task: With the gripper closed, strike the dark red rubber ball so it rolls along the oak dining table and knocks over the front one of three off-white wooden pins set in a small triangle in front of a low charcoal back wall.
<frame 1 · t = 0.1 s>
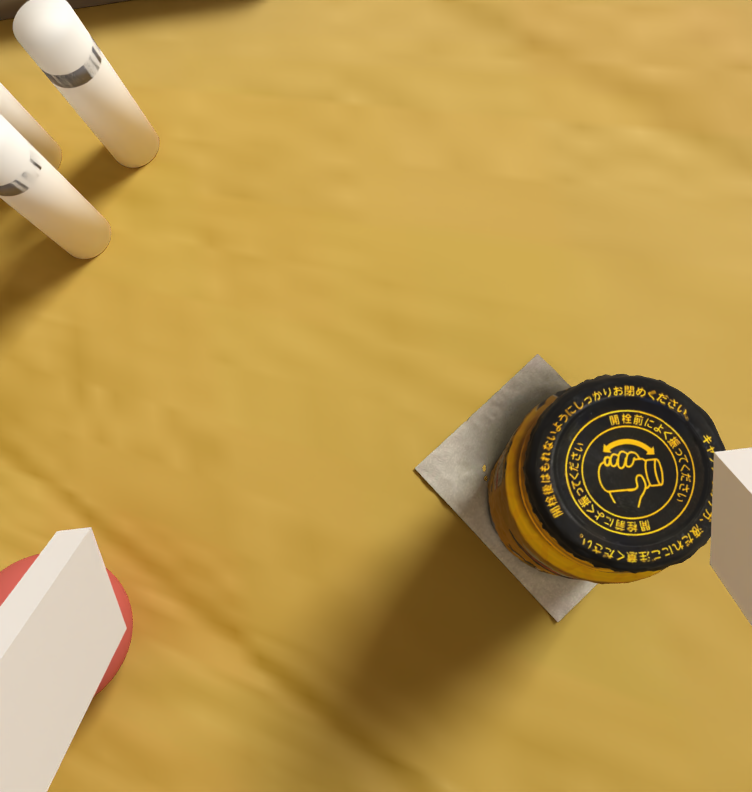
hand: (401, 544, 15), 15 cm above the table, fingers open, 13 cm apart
condiment: (545, 484, 31), on the table
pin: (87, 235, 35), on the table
ball: (50, 631, 28), on the table
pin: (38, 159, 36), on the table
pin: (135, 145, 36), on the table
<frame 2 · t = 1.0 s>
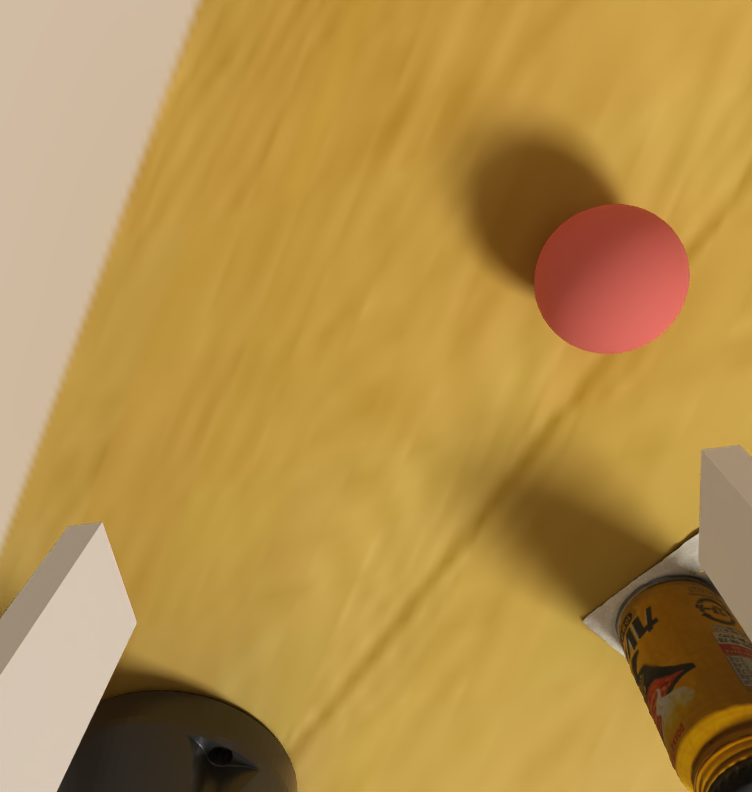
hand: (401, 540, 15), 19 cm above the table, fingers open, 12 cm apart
condiment: (682, 608, 40), on the table
ball: (609, 280, 29), on the table
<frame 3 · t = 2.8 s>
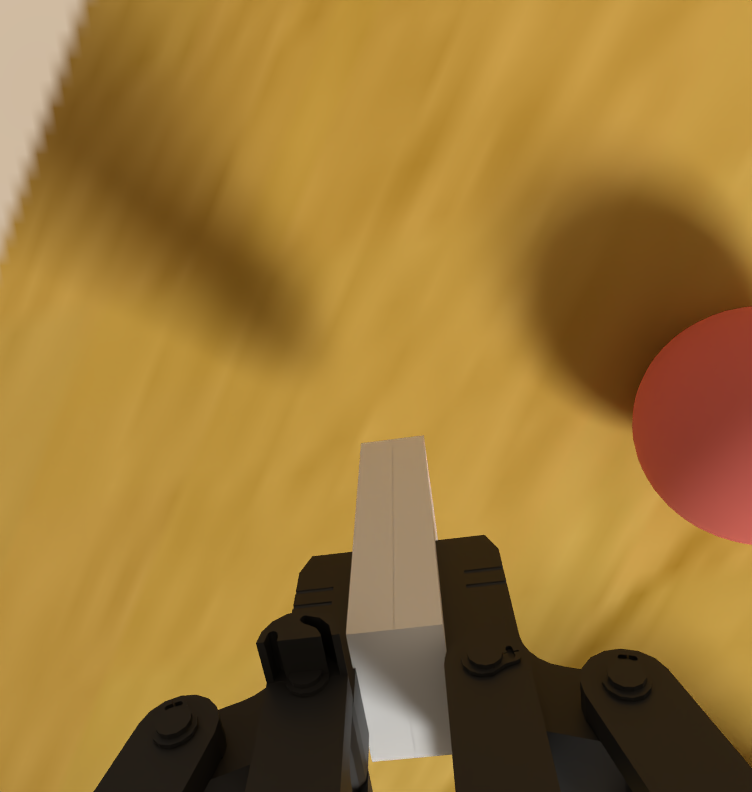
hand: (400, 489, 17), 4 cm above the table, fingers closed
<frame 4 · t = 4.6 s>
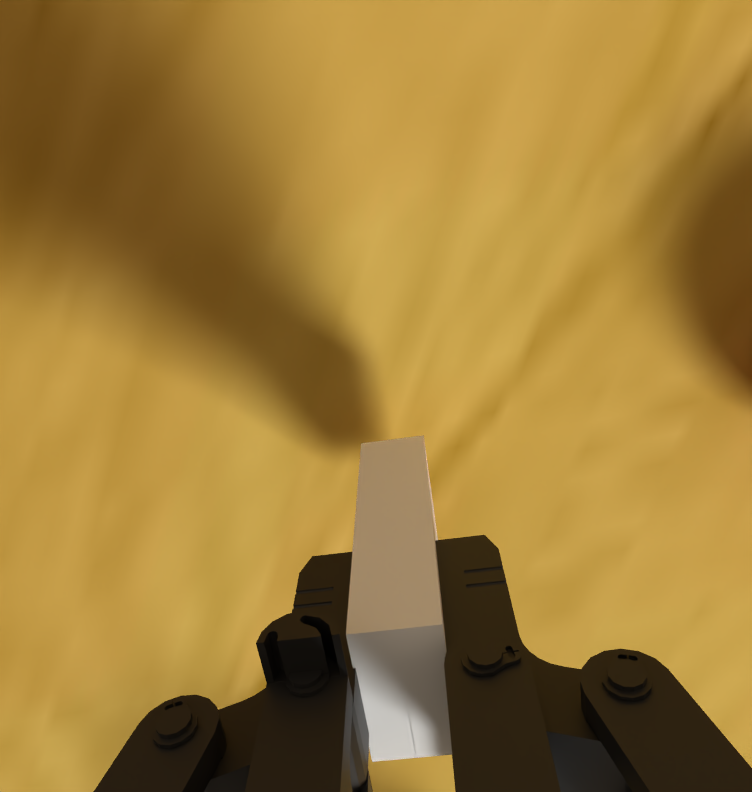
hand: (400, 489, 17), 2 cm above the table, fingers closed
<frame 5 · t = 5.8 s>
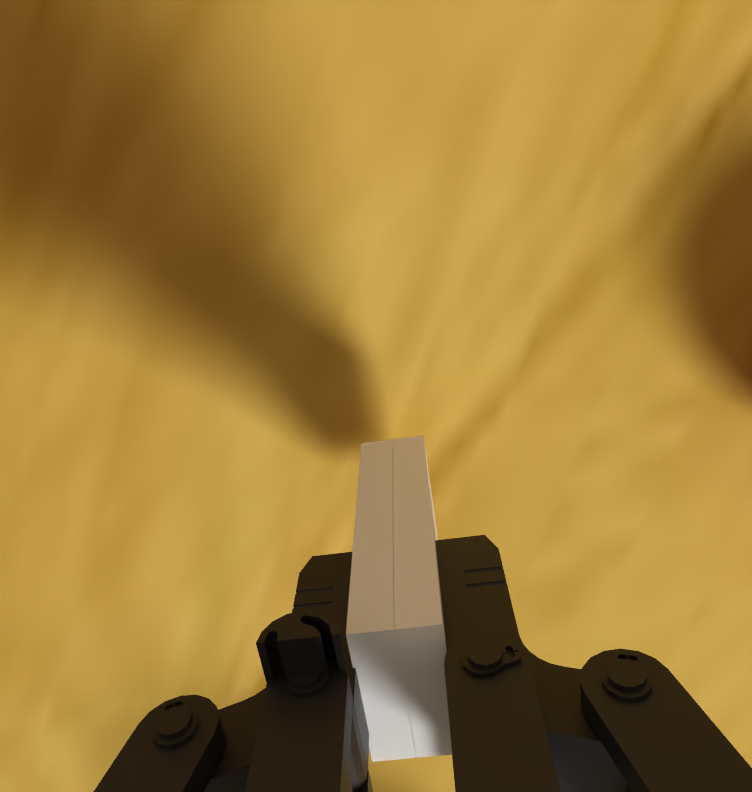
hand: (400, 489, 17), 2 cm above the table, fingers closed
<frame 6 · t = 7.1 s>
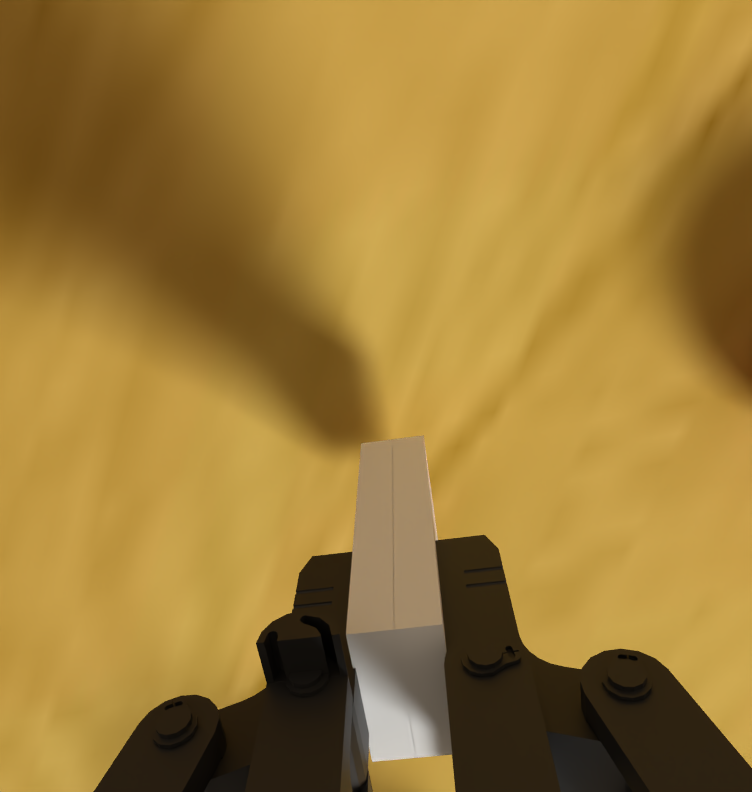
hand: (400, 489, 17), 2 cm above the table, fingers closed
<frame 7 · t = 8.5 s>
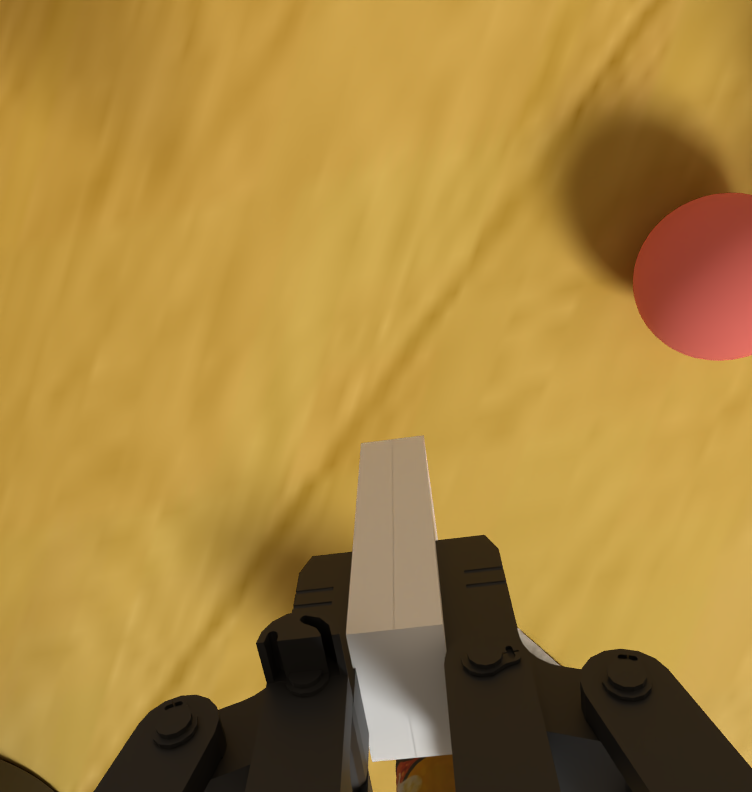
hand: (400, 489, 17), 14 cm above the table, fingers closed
condiment: (465, 677, 38), on the table
ball: (720, 278, 26), on the table
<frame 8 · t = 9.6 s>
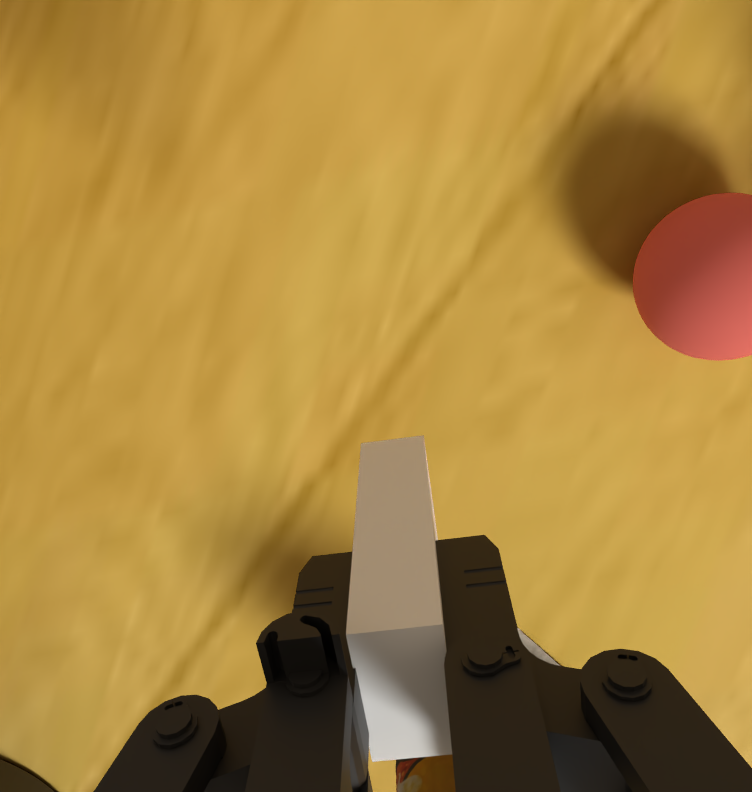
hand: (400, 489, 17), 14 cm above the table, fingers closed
condiment: (465, 677, 38), on the table
ball: (720, 278, 26), on the table
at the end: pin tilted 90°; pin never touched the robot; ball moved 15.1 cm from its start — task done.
